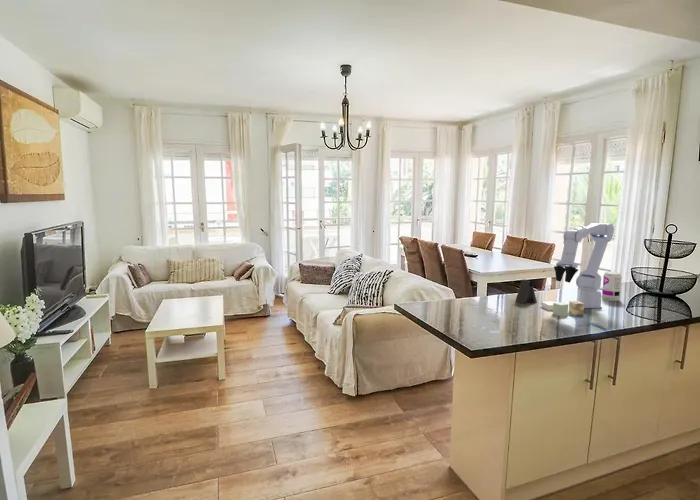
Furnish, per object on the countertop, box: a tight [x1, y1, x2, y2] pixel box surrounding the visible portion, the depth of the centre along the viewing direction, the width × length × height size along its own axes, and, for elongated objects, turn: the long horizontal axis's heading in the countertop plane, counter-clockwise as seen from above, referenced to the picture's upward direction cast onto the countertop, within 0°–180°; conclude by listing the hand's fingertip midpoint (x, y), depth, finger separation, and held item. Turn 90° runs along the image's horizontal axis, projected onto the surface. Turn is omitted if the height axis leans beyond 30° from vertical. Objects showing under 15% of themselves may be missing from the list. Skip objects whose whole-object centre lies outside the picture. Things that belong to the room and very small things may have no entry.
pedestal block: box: [540, 301, 557, 311], centre depth 199 cm, size 7×7×3 cm
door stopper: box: [514, 279, 538, 305], centre depth 211 cm, size 9×6×12 cm, turn 108°
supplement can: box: [601, 271, 622, 302], centre depth 215 cm, size 8×8×15 cm
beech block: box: [568, 300, 585, 316], centre depth 190 cm, size 4×4×6 cm
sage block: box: [552, 301, 569, 317], centre depth 187 cm, size 4×4×6 cm
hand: (562, 281), depth 189 cm, fingers open, 7 cm apart
